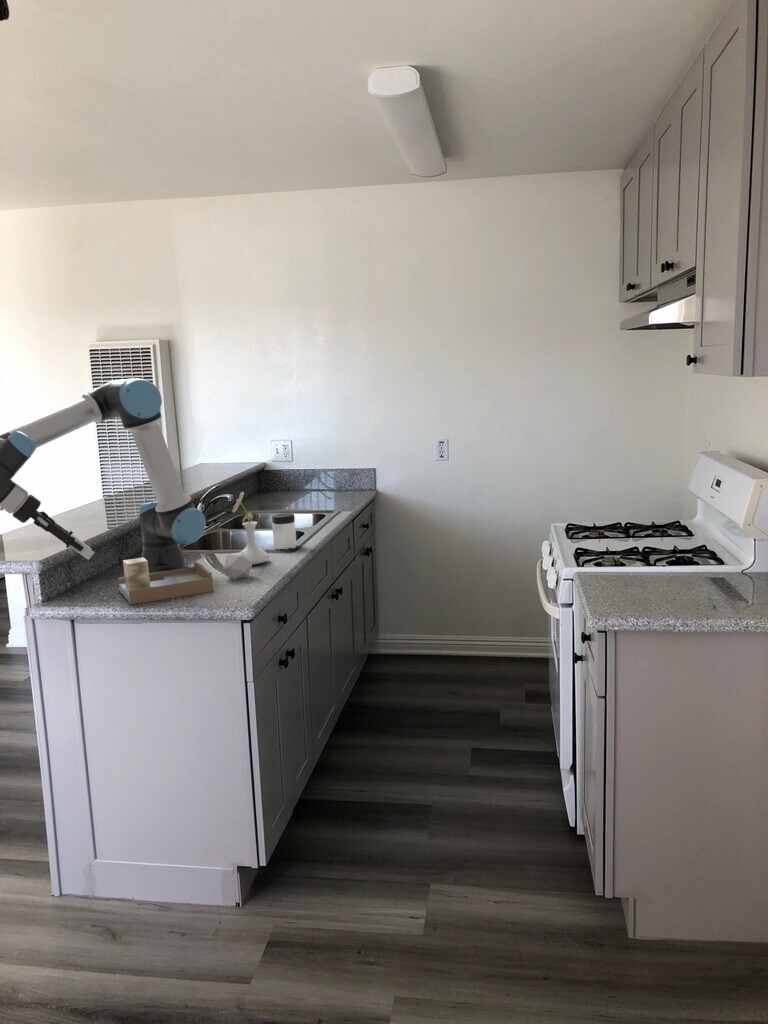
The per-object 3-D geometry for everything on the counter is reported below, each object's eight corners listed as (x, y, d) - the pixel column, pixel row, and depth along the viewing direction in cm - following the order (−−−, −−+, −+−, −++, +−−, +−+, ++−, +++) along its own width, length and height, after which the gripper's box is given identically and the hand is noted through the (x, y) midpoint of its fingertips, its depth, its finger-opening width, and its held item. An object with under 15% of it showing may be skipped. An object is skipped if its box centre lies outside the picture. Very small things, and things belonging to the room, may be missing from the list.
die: (247, 574, 264) (227, 552, 262) (262, 564, 258) (242, 541, 257) (233, 589, 257) (213, 567, 256) (248, 579, 252) (227, 556, 250)
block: (129, 591, 238) (126, 564, 236) (125, 586, 243) (122, 560, 242) (150, 587, 241) (147, 561, 239) (146, 583, 246) (143, 557, 244)
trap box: (130, 604, 233) (128, 585, 232) (119, 591, 248) (117, 573, 247) (213, 590, 243) (212, 572, 242) (197, 578, 259) (196, 561, 258)
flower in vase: (247, 558, 284) (241, 487, 280) (276, 560, 279) (270, 487, 275) (226, 567, 272) (220, 493, 268) (256, 569, 268) (250, 493, 263)
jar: (296, 549, 295) (293, 516, 293) (273, 550, 295) (270, 517, 293) (297, 544, 304) (295, 512, 302) (275, 545, 304) (272, 513, 302)
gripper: (9, 510, 232) (76, 558, 242) (13, 519, 215) (85, 570, 225) (27, 489, 233) (93, 538, 243) (32, 497, 217) (103, 549, 227)
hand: (89, 553), depth 234 cm, fingers open, 6 cm apart
